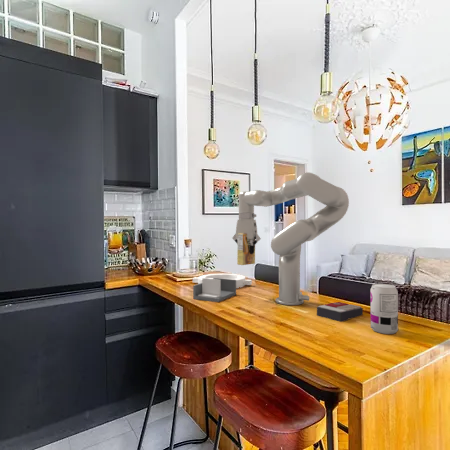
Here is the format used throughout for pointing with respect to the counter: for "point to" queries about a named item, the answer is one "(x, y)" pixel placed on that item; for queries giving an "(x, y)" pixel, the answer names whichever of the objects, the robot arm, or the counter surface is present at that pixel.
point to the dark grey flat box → (339, 311)
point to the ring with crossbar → (239, 278)
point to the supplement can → (384, 308)
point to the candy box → (244, 251)
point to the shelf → (214, 289)
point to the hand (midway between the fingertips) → (246, 253)
